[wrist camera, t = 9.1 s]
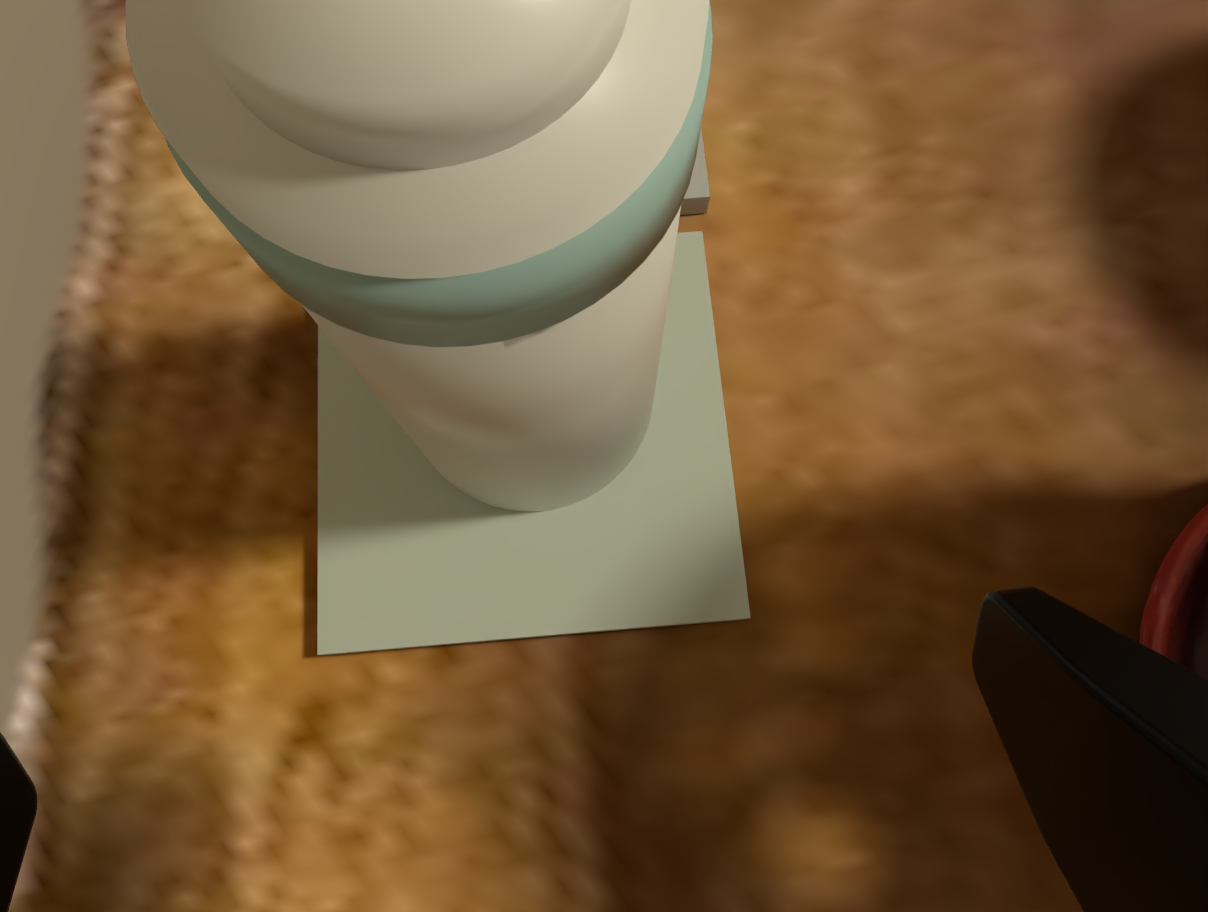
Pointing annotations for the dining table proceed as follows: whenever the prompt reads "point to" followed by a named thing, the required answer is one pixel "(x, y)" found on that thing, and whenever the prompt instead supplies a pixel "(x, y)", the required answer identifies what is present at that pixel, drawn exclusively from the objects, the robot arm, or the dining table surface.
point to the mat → (531, 517)
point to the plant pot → (1181, 600)
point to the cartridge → (455, 203)
